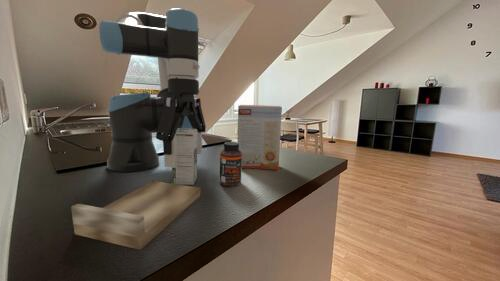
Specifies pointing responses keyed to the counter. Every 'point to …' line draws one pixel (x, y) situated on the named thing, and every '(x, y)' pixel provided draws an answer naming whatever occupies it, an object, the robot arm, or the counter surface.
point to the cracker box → (259, 136)
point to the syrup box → (185, 157)
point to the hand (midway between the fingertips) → (185, 159)
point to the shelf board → (134, 214)
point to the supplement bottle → (230, 164)
